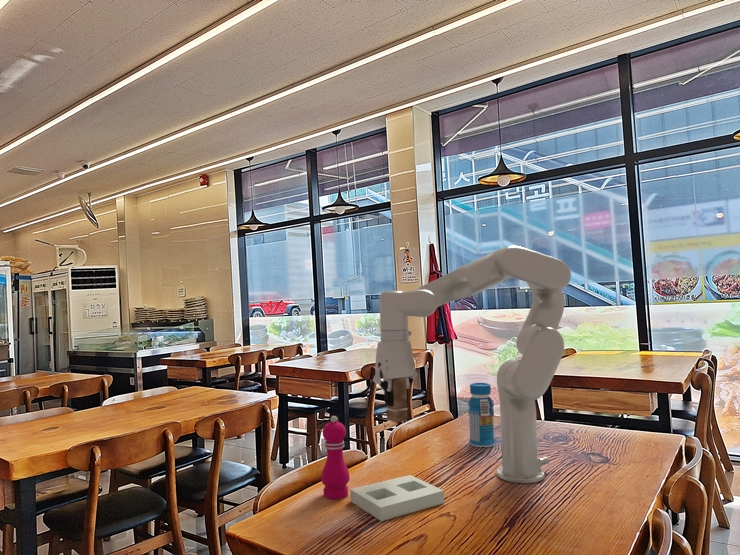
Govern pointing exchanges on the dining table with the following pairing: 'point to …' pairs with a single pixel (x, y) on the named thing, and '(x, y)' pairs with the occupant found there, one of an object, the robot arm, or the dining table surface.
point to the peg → (398, 401)
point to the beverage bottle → (481, 415)
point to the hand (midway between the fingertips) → (396, 403)
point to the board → (396, 497)
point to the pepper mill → (335, 461)
